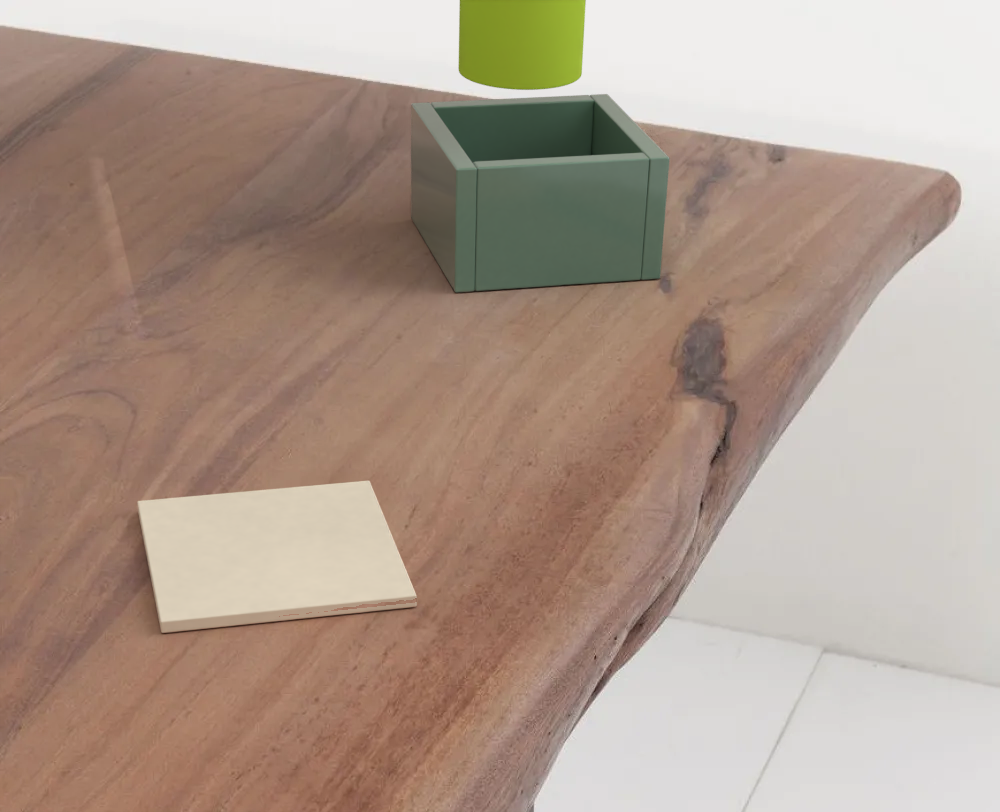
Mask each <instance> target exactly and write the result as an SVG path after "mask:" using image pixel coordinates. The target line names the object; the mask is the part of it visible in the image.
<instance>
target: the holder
mask: <svg viewBox="0 0 1000 812" xmlns="http://www.w3.org/2000/svg"><path fill="white" fill-rule="evenodd" d="M410 109H411V110H410V137H411V138H410V171H411V172H410V196H411V197H410V206H411V207H410V218H411V220H412V222H413V224H414V225H415V228H416V229H417V230H418V232H419V234H420V236H421V237H422V239H423V241H424V243H425V244H426V245H427V247H428V249H429V251H430V252H431V254H432V256H433V258H434V259H435V261H436V263H437V264H438V266H439V269H441V271H442V273H443V274H444V276H445V278H446V279H447V281H448V283H449V285H450V286H451V288H452V290H453V291H454V293H467V292H469V293H470V292H483V291H498V290H499V291H500V290H514V289H526V288H527V289H529V288H541V287H556V286H572V285H586V284H601V283H613V282H614V283H615V282H629V281H641V280H642V281H646V280H659V279H661V274H662V273H661V271H662V259H663V249H664V248H663V247H664V235H665V223H666V211H667V210H666V209H667V198H668V197H667V196H668V182H669V171H670V157H669V156H668V155H667V153H666V152H665V151H664V150H663V149H661V147H660V146H659V145H658V144H657V143H656V142H655V141H654V140H653V139H652V138H651V137H650V136H649V135H648V134H647V133H646V132H645V131H644V130H643V129H642V128H641V127H640V126H639V125H638V123H636V122H635V121H634V120H633V119H632V117H631V116H629V114H628V113H626V112H625V110H623V108H622V107H620V105H619V104H618V103H617V102H616V101H615V99H613V98H612V97H611V96H610V95H609V94H607V93H601V94H599V93H598V94H579V95H578V94H577V95H558V96H557V95H555V96H537V97H536V96H535V97H532V96H531V97H514V98H513V97H512V98H492V99H472V100H471V99H469V100H468V99H467V100H451V101H450V100H449V101H448V100H447V101H431V102H429V101H427V102H412V103H411V104H410Z"/></svg>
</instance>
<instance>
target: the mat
mask: <svg viewBox="0 0 1000 812" xmlns="http://www.w3.org/2000/svg"><path fill="white" fill-rule="evenodd" d="M372 485H373V484H372V483H371V481H370V480H360V481H359V480H357V481H347V482H338V483H335V482H334V483H326V484H315V485H301V486H291V487H279V488H269V489H259V490H256V489H255V490H246V491H235V492H223V493H213V494H203V495H202V494H200V495H190V496H180V497H179V496H178V497H168V498H167V497H166V498H156V499H146V500H138V501H137V502H136V505H137V513H138V514H137V515H138V519H139V524H140V528H141V534H142V535H141V536H142V540H143V544H144V551H145V556H146V561H147V565H148V570H149V571H148V572H149V576H150V581H151V586H152V591H153V597H154V603H155V608H156V612H157V618H158V622H159V628H160V632H161V633H162V634H168V633H177V632H185V631H186V632H187V631H197V630H205V629H215V628H224V627H226V628H227V627H234V626H244V625H252V624H255V625H256V624H263V623H273V622H283V621H292V620H302V619H313V618H321V617H331V616H341V615H349V614H359V613H369V612H378V611H389V610H399V609H408V608H416V607H417V606H418V601H417V602H415V603H406V604H396V605H386V606H377V607H367V608H357V609H348V610H338V611H331V610H334V609H337V608H343V607H356V606H359V605H362V604H378V603H381V602H396V601H399V600H404V601H406V600H413V599H415V598H417V599H418V597H417V596H418V595H417V593H416V591H415V590H416V589H415V588H414V586H413V583H412V581H411V579H410V578H411V577H410V576H409V573H408V571H407V569H406V566H405V563H404V561H403V559H402V556H401V554H400V552H399V549H398V546H397V544H396V541H395V539H394V537H393V535H392V532H391V530H390V527H389V525H388V522H387V519H386V517H385V515H384V513H383V510H382V507H381V505H380V503H379V500H378V498H377V495H376V493H375V491H374V488H373V486H372ZM324 611H328V612H324ZM309 612H312V613H309ZM318 612H319V613H318ZM306 613H309V614H306ZM289 614H299V615H290V616H283V615H289ZM279 616H280V617H279Z"/></svg>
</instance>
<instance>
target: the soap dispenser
mask: <svg viewBox="0 0 1000 812" xmlns="http://www.w3.org/2000/svg"><path fill="white" fill-rule="evenodd" d="M586 2H587V0H459V13H458V14H459V15H458V16H459V18H458V19H459V20H458V23H459V25H458V73H459V74H460V75H461V76H462V77H463V78H465V79H466V80H468V81H470V82H473V83H475V84H479V85H483V86H487V87H491V88H497V89H505V90H516V91H517V90H518V91H519V90H521V91H533V90H534V91H535V90H548V89H555V88H561V87H565V86H568V85H571V84H573V83H575V82H577V81H578V80H580V78H581V77H582V75H583V74H582V73H583V59H584V58H583V56H584V41H585V40H584V39H585V23H586V22H585V21H586V5H587V4H586Z"/></svg>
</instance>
